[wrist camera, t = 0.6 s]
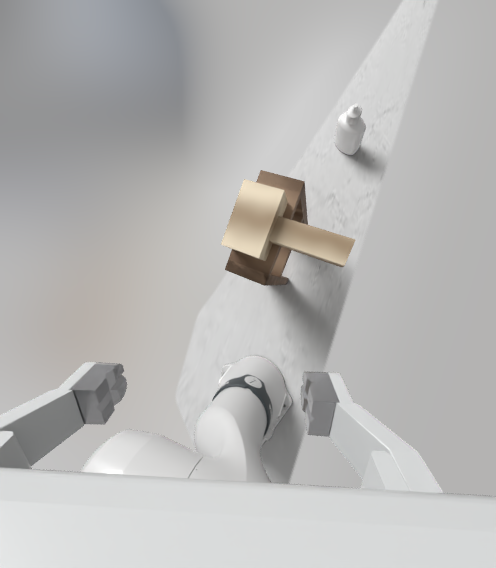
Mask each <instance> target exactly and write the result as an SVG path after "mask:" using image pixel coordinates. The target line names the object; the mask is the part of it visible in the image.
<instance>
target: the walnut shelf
mask: <svg viewBox="0 0 496 568" xmlns="http://www.w3.org/2000/svg"><path fill="white" fill-rule="evenodd" d="M256 183H260V184H264V185H267V186H271V187H275V188H278V189H282V190H284V191H285V194H286V197H287V201H288V204H287V207H286V209H285V212H284V215H283V217H284V218H287V219H290V220H293V221H297V222H300V223H303V224H306V225H308V221H307V208H306V196H305V183H304V181H300V180H297V179H293V178H289V177H285V176H281V175H277V174H274V173H270V172H266V171H262V170H261V171H260V174H259V176H258V179H257V182H256ZM290 252H291V250H290V249H287V248H284V247H282V246H279V245H276V244H272V246H271V249H270V252H269V254H268V257H267V260H266V261H263V260H260V259H258V258H255V257H252V256H250V255H247V254H244V253H241V252H239V251H236V250H233V249H232V251H231V254H230V257H229V260H228V263H227V265H226V268H225V270H227V271H229V272H232V273H234V274H237V275H239V276H242V277H244V278H247V279H249V280H252V281H255V282H257V283H260V284H262V285H284V284H287V281H288V278H286V277H283V276H282V273H283V270H284V268H285V265H286V263H287V260H288V258H289V255H290Z"/></svg>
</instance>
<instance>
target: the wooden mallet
mask: <svg viewBox="0 0 496 568" xmlns="http://www.w3.org/2000/svg"><path fill="white" fill-rule="evenodd" d="M287 204H288V201H287V197H286V194H285V191H284V190H282V189H278V188H275V187H271V186H267V185H264V184H260V183H256V182H253V181H249V180H246V179H244V181H243V184H242V187H241V189H240V192H239V195H238V198H237V201H236V203H235V206H234V209H233V212H232V215H231V218H230V221H229V224H228V226H227V229H226V232H225V234H224V238H223V240H222V243H221V244H222V245H224V246H226V247H229V248H231V249H233V250H236V251H239V252H241V253H244V254H247V255H250V256H252V257H255V258H258V259H260V260H263V261H266V260H267V257H268V254H269V252H270V249H271V246H272V244H276V245H279V246H282V247H284V248H287V249H290V250H293V251H296V252H299V253H302V254H305V255H308V256H311V257H313V258H316V259H319V260H322V261H325V262H328V263H331V264H334V265H337V266H340V267H343V266H345V264H346V261H347V259H348V256H349V254H350V252H351V249H352V247H353V244H354V242H355V239H352V238H348V237H345V236H342V235H339V234H335V233H332V232H329V231H326V230H322V229H319V228H316V227H313V226H310V225H306V224H303V223H300V222H297V221H293V220H290V219H287V218H284V217H283V215H284V212H285V209H286V207H287Z"/></svg>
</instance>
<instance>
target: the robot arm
mask: <svg viewBox="0 0 496 568" xmlns="http://www.w3.org/2000/svg"><path fill="white" fill-rule="evenodd" d="M123 372H124V369H123V365H121V364H115V363H101V362H99V363H97V362H87V363H84V364H83V365H82V366H81V367H80V368H79V369H78V370H77V371H76V372H75V373H73V374H72V375H71V376H70V377H69V378H68V379H67V380H66V381H65V382H64V383H63V384H62V385H61V386H60V387H59V388H58V389H57V390H51V391H49V392H47V393H45V394H43V395H41V396H38V397H36V398H34V399H33V400H30V401H28V402H26V403H24V404H22V405H20V406H18V407H16V408H14V409H12V410H10V411H8V412H6V413H4V414H2V415H0V568H496V496H486V495H469V494H452V493H443V491H442V490H441V488H440V486H439V485H438V483H437V482H436V480H435V478H434V477H433V475H432V474H431V472H430V470H429V469H428V467H427V466H426V464H425V462H424V461H423V459H422V458H421V456H420V454H419V453H418V452H417V451H416V450H415V449H414V448H412V447H411V446H410V445H408V444H407V443H406V442H405V441H404V440H403V439H401V438H400V437H399V436H398V435H396V434H395V433H394V432H393V431H391V430H390V429H389V428H388V427H386V426H385V425H384V424H383V423H381V422H380V421H379V420H377V419H376V418H375V417H374V416H373V415H371V414H370V413H369V412H368V411H366V410H365V409H364V408H363V407H361V406H360V405H359V404H355V403H354V402H353V400H352V398H351V396H350V393H349V391H348V389H347V387H346V385H345V383H344V381H343V379H342V377H341V375H340V373H338V372H327V373H326V372H304V373H303V378H302V379H303V385H302V386H301V405H302V410H303V411H304V412H305V419H304V420H305V424H306V429H307V433H308V435H316V436H328V437H329V438H330V439H331V441H332V442H333V443H334V444H335V445H336V447H337V448H338V449H339V451H340V452H341V453H342V454H343V456H344V457H345V458H346V459H347V461H348V462H349V463H350V464H351V466H352V467H353V468H354V469H355V470H356V472H357V473H358V474H359V476H360V477H361V478H362V479H363V481H362V484H361V487H360V488H349V487H330V486H314V485H313V486H312V485H297V484H280V483H272V482H271V481H270V479H269V477H268V475H267V473H266V471H265V468H264V466H263V463H262V460H261V456H260V450H261V446H262V445H263V444H264V442H265V441H266V440H270V438H271V437H272V434H273V432H274V431H273V430H274V428H275V427H276V426H277V424H278V423H279V421H280V420H281V419H282V417H283V416H284V414H285V413H286V412H287V410H288V409H289V407H290V406H291V404H292V398H291V396H290V395H289V393H288V392H287V390H286V387H285V383H284V379H283V376H282V374H281V372H280V371H279V369H278V368H277V367H276V366H275V365H274V364H273V363H272V362H271V361H269V360H267V359H265V358H263V357H260V356H247V357H244V358H242V359H240V360H239V361H237V362H235V363H230V364H226V365H224V366H223V368H222V372H221V378H220V380H219V382H218V383H219V388H218V391H217V392H216V394H215V396H214V398H213V400H212V402H211V403H210V405H209V406H208V407H207V408H206V409H205V410H204V412H203V413H202V414H201V415H200V417H199V419H198V421H197V424H196V427H195V432H194V442H195V448H196V451H193V450H192V449H189V448H187V447H185V446H183V445H181V444H179V443H177V442H175V441H173V440H171V439H169V438H167V437H165V436H162V435H158V434H154V433H149V432H144V431H138V430H132V429H128V430H124V431H122V432H119V433H118V434H116V435H114V436H113V437H111V438H110V439H108V440H107V441H106V442H104V443H103V444H102V445H101V446H100V447H99V448H98V449H97V450H96V451H95V452H94V453H93V454H92V455H91V456H90V458H89V459H88V461H87V462H86V463H85V465H84V466H83V468H82V469H81V471H80V472H73V471H56V470H38V469H32V468H31V466H32V465H33V464H34V463H36V462H37V461H38V460H40V459H41V458H42V457H44V456H45V455H46V454H47V453H49V452H50V451H51V450H53V449H54V448H55V447H56V446H58V445H59V444H61V443H62V442H63V441H64V440H66V439H67V438H68V437H70V436H71V435H72V434H73V433H75V432H76V431H77V430H79V429H80V428H81V427H83V426H84V424H105V423H106V422H107V421H108V419H109V417H110V416H111V415H112V413H113V412H114V405H116V404H117V403H118V402H120V401H121V400H122V398H123V397H124V394H125V392H126V389H127V388H126V387H127V382H126V379H125V377H124V376H122V373H123ZM283 404H285V405H286V406H283Z"/></svg>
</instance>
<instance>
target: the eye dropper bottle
mask: <svg viewBox="0 0 496 568" xmlns="http://www.w3.org/2000/svg"><path fill="white" fill-rule="evenodd" d="M361 113H362V108H361V106H359V105H358V104H357V103H356V104H354V105H352V106H351V107H350V108H349V109H348V111H347V112H344V113H343V114H342V115H341V116H340V117H339V119H338V121H337V126H336V132H335V139H334V143H335V145H336V147H337V148H338V149H339V150H340V151H341V152H343V153H345V154H347V155H353V154H354V153H355V152H356V151H357V150H358V149H359V147H360V144H361V141H362V138H363V135H364V132H365V129H366V125H365V123H364V121H363V119H362V118H361V117H360V116H361Z"/></svg>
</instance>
